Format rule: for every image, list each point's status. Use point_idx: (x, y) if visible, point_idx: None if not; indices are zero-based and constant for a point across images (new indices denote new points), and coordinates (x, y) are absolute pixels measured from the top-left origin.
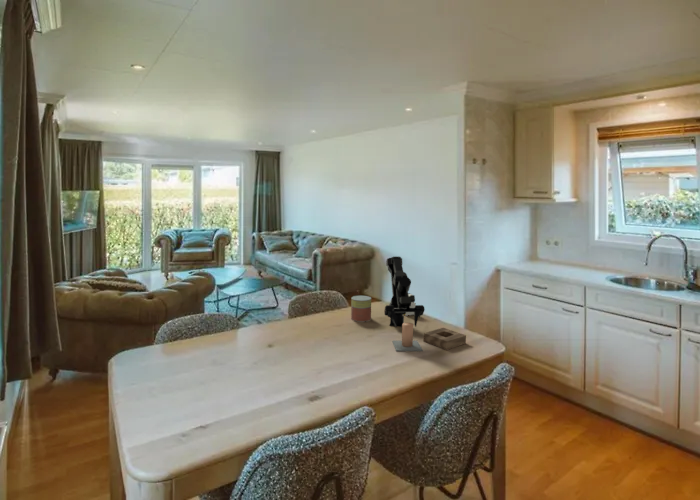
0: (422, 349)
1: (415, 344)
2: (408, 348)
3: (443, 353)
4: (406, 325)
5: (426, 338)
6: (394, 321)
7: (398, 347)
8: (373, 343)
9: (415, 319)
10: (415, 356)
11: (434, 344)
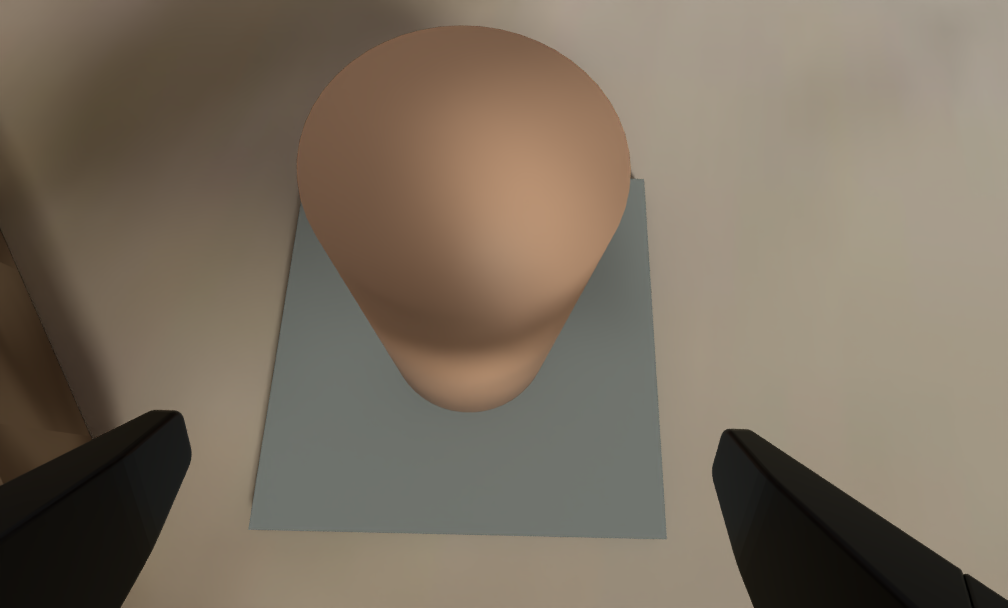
0: None
1: (341, 347)
2: None
3: (87, 92)
4: (528, 65)
5: None
6: (865, 512)
7: (606, 254)
8: (940, 479)
9: (4, 535)
10: None
11: (45, 352)
